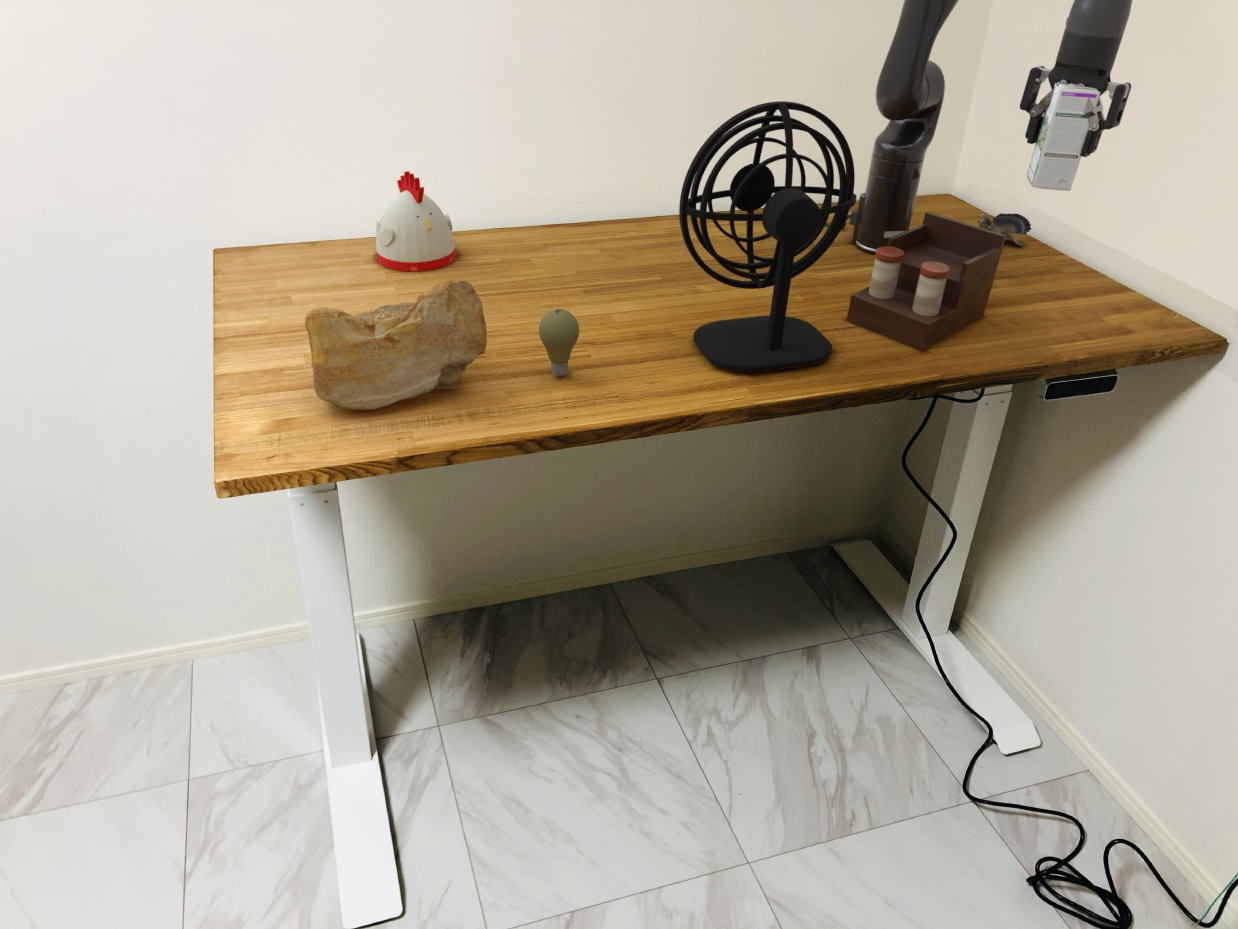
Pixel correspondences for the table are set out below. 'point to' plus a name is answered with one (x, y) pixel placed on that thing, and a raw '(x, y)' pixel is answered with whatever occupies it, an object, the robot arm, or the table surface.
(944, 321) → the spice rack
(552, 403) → the table surface
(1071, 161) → the syrup box
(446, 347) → the rough brown rock
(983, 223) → the squirrel figurine
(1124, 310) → the table surface
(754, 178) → the desk fan
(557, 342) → the light bulb
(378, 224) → the kitchen timer
